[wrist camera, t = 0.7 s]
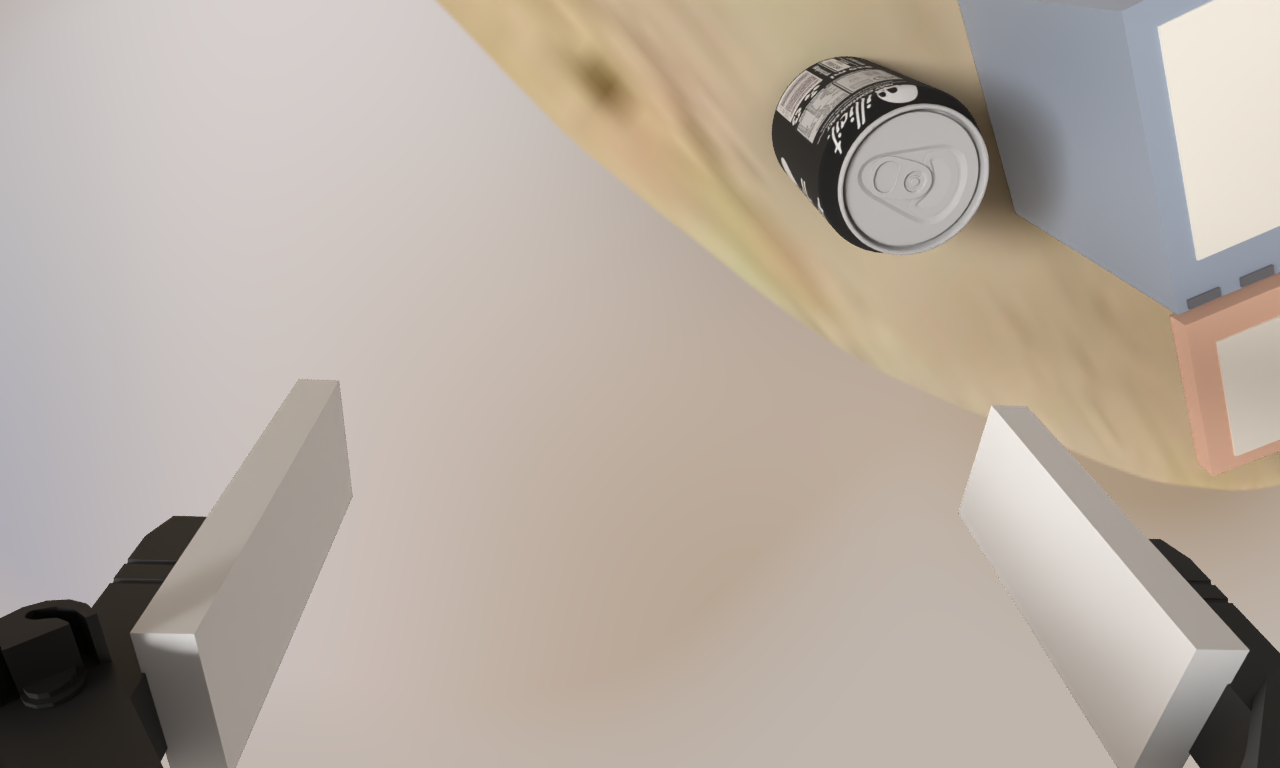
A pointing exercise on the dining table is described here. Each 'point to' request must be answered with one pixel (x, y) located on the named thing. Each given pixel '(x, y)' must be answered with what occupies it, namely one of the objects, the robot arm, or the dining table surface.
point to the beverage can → (881, 155)
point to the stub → (1232, 374)
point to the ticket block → (1141, 133)
